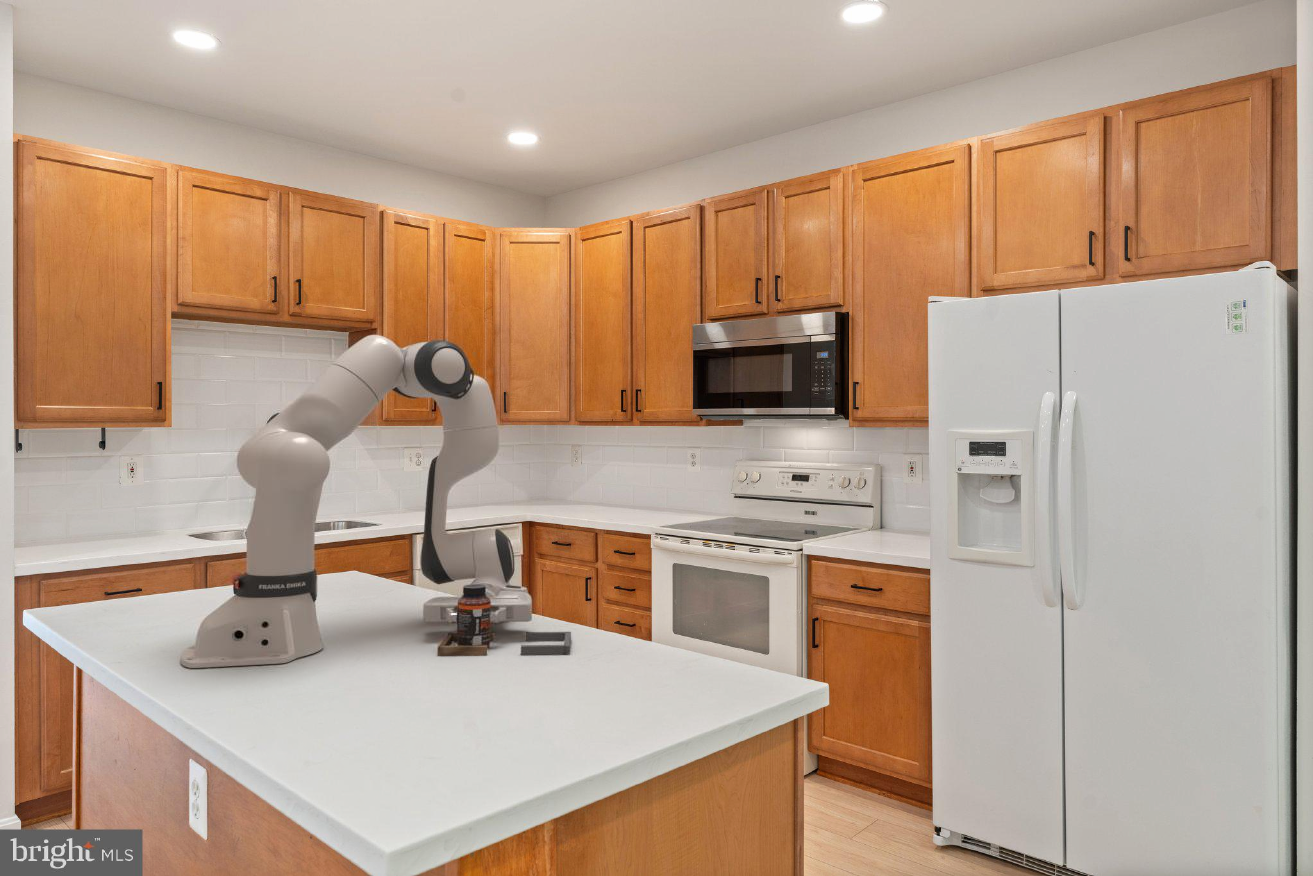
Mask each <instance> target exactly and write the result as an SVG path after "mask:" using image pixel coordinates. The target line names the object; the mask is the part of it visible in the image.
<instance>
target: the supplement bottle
mask: <svg viewBox="0 0 1313 876" xmlns="http://www.w3.org/2000/svg"><path fill="white" fill-rule="evenodd" d="M485 592H486V586H485V585H481V584H471V583H469V584H465V585H463V588H462V594H463V593H464V595H463V597H461V596H460V597H461V598H460V599H459V600H458V609H457V623H456V624H457V625H456V627H457V629H456V631H457V632H456V633H457V642H456V646H484V645H487V649H488V648H489V647H490V646H491V642H490V632H491V626H490V613H491V601H490V598H488V597H487V596H486V594H485Z"/></svg>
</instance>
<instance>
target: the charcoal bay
mask: <svg viewBox="0 0 1313 876" xmlns="http://www.w3.org/2000/svg"><path fill="white" fill-rule="evenodd" d="M571 641H572V632H571V631H525V642H563V644H522V645H520V656H537V655H538V656H548V655H551V656H555V655H556V656H557V655H559V656H560V655H563V656H566V655H567V656H568V655H570V651H571Z"/></svg>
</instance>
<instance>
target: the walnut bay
mask: <svg viewBox="0 0 1313 876" xmlns="http://www.w3.org/2000/svg"><path fill="white" fill-rule="evenodd" d="M491 642H495V632H494V631H490V643H491ZM453 643H457V632H447V634H446V636H445V637H444V638H443V639H442V641H441V642H440V643H439V644H438V646H437V649H436V650H437V652H436V653H437V657H453V656H454V657H455V656H459V657H460V656H461V657H463V656H465V657H467V656H468V657H469V656H471V657H472V656H473V657H474V656H487V655H488V648H487V645H484V646H457V645H452V644H453Z"/></svg>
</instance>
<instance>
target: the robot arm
mask: <svg viewBox="0 0 1313 876" xmlns="http://www.w3.org/2000/svg"><path fill="white" fill-rule="evenodd" d="M391 391H393V392H395V393H397V394H398V395H399V396H403V397H406V398H408V399H422V398H423V399H433V400H434V402H436V404H437V406H438V408H439V411H440V414H441V417H442V419H441V420H442V431H443V439H442V440H443V441H442V447H441V449H440V452H439V454H438V455H436V456H435V457H433V458H432V460H431V462H430V465H429V467H428V476H427V484H426V485H427V486H426V497H425V510H424V527H423V535H422V537H423V538H422V544H421V550H420V555H419V556H420V557H419V558H420V559H419V563H420V570H421V573H422V575H423V576H424V577H425V578H426V579H428V580H429V581H430V582H432V583H434V584H436V585H442V584H443V585H444V584H447V583H453V582H456V581H462V580H463V581H464V580H471V579H472V580H473V581H471V582H470V584H481V585H485V586H486V592H485V594H486V596H487V597H488V598H490V601H491V613H490V627H491V626H493V625H499V624H503V623H509V622H510V623H516V622H517V623H518V622H520V623H523V622H525V623H527V622H530V621H532V618H533V616H532V615H533V600H532V596H531V594H529V592H528V588H527V587H525V586H521V585H520V586H519V585H511V582H510V581H511V580H512V577H514V574H515V554H514V549H513V544H512V542H511V540H510V538H509V537H508V536H507V535H506V534H505V533H504V532H503V531H502V530H500V529H498V528H494V529H480V530H479V529H478V530H475V531H466V532H458V533H449V532H447V531H446V525H447V509H448V497H449V494H450V493H449V492H450V491H451V489H452V488H453V486H454V485H456V484H457V483H458V482H460V481H462V480H464V479H465V478H468V477H470V476H472V475H473V474H475V473H478V472H479V471H481V470H483V469H485V468H486V467H487V466H488V465H489V464H491V463H492V461H493V460H494V459H495V458H496V456H497V454H498V451H499V444H500V443H499V442H500V440H499V439H500V438H499V424H498V416H497V411H496V406H495V402H494V398H493V394H492V392H491V388H490V385H489V383H488V382H487V380H485V379H484V378H483V377H481V376H479V375H477V374H475V372H474V370H473V369H472V367H471V365H470V362H469V360H468V357H467V355H466V353H465V352H464V350H463V349H462V348H461V347H459V346H458V345H457V344H455V343H453V342H451V341H447V340H442V339H435V340H430V341H422V342H417V343H414V344H410V345H407V346H405V347H399V346H397V344H396V343H395V342H394V341H392V340H391V339H389V338H387V337H385V336H383V335H380V334H379V335H378V334H371V335H370V334H369V335H366V336H365V337H363V338H362V339H360V340H358V341H357V342H356V343H354V344H353V345H352V346H350V347H349V348H348V349H347V350H345V351H344V352H343V353H342V354H340V355H339V356H338V357H337V358H336V359H335V360H334V361H333V362H332V363H330V365H329V366H328V367H327V368H326V370H324V372H323V373H321V374H320V375H319V377H318V378H317V379H316V380H315V381H314V382H312V384H311V385H310V386H308V388H306V390H305V391H304V392H303V393H302V394H301V395H299V397H297V398H296V399H295V400H293V402H292V403H290V404H289V405H288V406H286V407H285V408H284V409H283V410H282V411H280V412H279V413H278V414H277V415H276V416H275V417H273V418H272V419H271V420H270V421H268V422H267V423H266V424H265V425H264V426H262V428H260V429H259V430H258V431H257V432H256V433H254V435H252V436H251V437H250V438H249V439H248V440H247V441H245V443H243V444H242V445H241V447H240V448H239V450H238V452H237V456H236V467H237V470H238V473H239V475H240V476H241V478H242V479H243V480H244V482H245V483H247V484H248V485H249V486H250V487H252V488H254V489H255V494H254V495H255V496H254V503H253V506H252V507H253V508H252V512H251V516H250V521H249V523H248V525H247V528H246V572H244V573H240V572H236V573H233V575H232V576H231V579H230V580H231V583H232V585H233V586H232V587H233V588H232V590H233V594H234V595H233V596H231V597H230V598H229V599H228V600H226V601H224V603H223V604H221V605H220V606H219V607H217V608H215V609H214V610H213V611H212V612H210V613H209V614H208V615H207V616H205V618H204V619H203V620H202V621H201V623H200V625H199V627H198V629H197V633H196V638H195V644H194V645H190V646H189V647H187V648H186V649H184V650H183V651H182V653H181V657H180V663H181V665H182V666H184V667H186V668H189V669H201V668H219V667H235V666H236V667H238V666H239V667H240V666H256V665H257V666H258V665H273V664H274V665H275V664H277V665H278V664H285V663H289V662H291V661H293V660H295V659H299V658H301V657H305V656H309V655H312V654H315V653H317V652H319V651H321V650H322V649H324V643H323V641H322V640H323V639H322V637H321V632H320V629H319V628H320V627H319V623H318V616H317V608H316V601H317V597H318V575H317V570H316V568H315V534H316V532H315V531H316V522H317V516H318V512H319V511H318V510H319V507H320V502H321V496H322V490H323V487H324V482H325V481H326V479H327V477H328V475H329V472H330V469H331V467H330V466H331V461H330V456H329V453H328V451H330V450H331V449H332V448H334V447H335V446H336V445H337V444H339V443H340V442H342V441H343V440H345V439H346V438H348V437H349V436H350V435H351V434H352V433H353V432H354V431H355V430H356V429H357V428H358V427H359V425H360V424H362V422H363V421H364V420H365V419H366V418H368V416H369V415H370V414H371V412H373V410H375V408H376V407H377V406H378V405H379V404H380V403H381V402H382V401H383V399H385V396H386V395H387V394H388V393H390V392H391ZM463 595H464V593H463V592H462V595H461V596H437V597H432V598H430V599H429V600H427V601H425V602H424V604H423V609H422V610H423V611H422V615H423V616H422V617H423V621H424V622H426V623H449V624H457V609H458V600H459V599H460V598H461V597H463Z"/></svg>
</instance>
